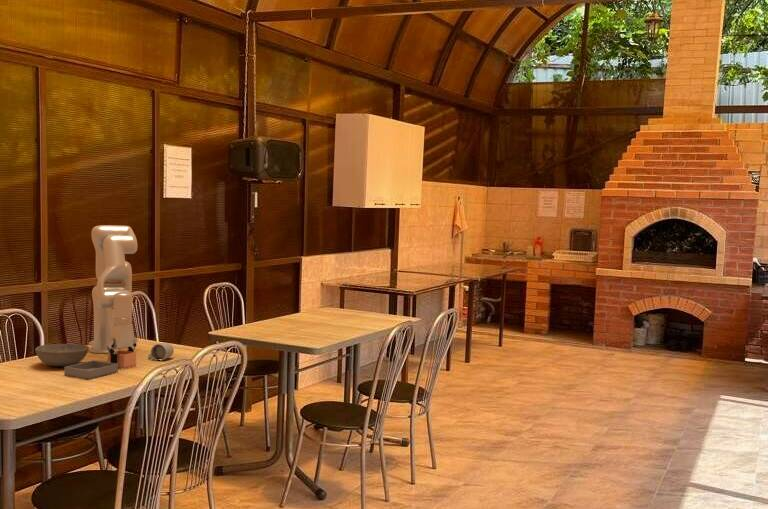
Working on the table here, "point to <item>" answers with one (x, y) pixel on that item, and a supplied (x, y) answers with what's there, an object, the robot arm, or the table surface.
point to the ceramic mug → (161, 351)
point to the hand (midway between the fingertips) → (122, 361)
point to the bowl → (61, 354)
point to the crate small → (124, 359)
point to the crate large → (90, 369)
